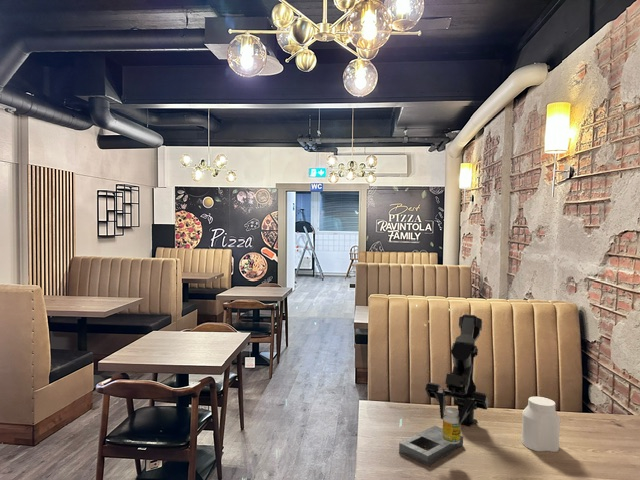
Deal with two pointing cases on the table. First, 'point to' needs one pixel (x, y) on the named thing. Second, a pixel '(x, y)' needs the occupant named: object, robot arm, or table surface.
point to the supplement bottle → (451, 426)
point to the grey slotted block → (428, 446)
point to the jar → (540, 425)
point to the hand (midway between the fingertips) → (450, 421)
